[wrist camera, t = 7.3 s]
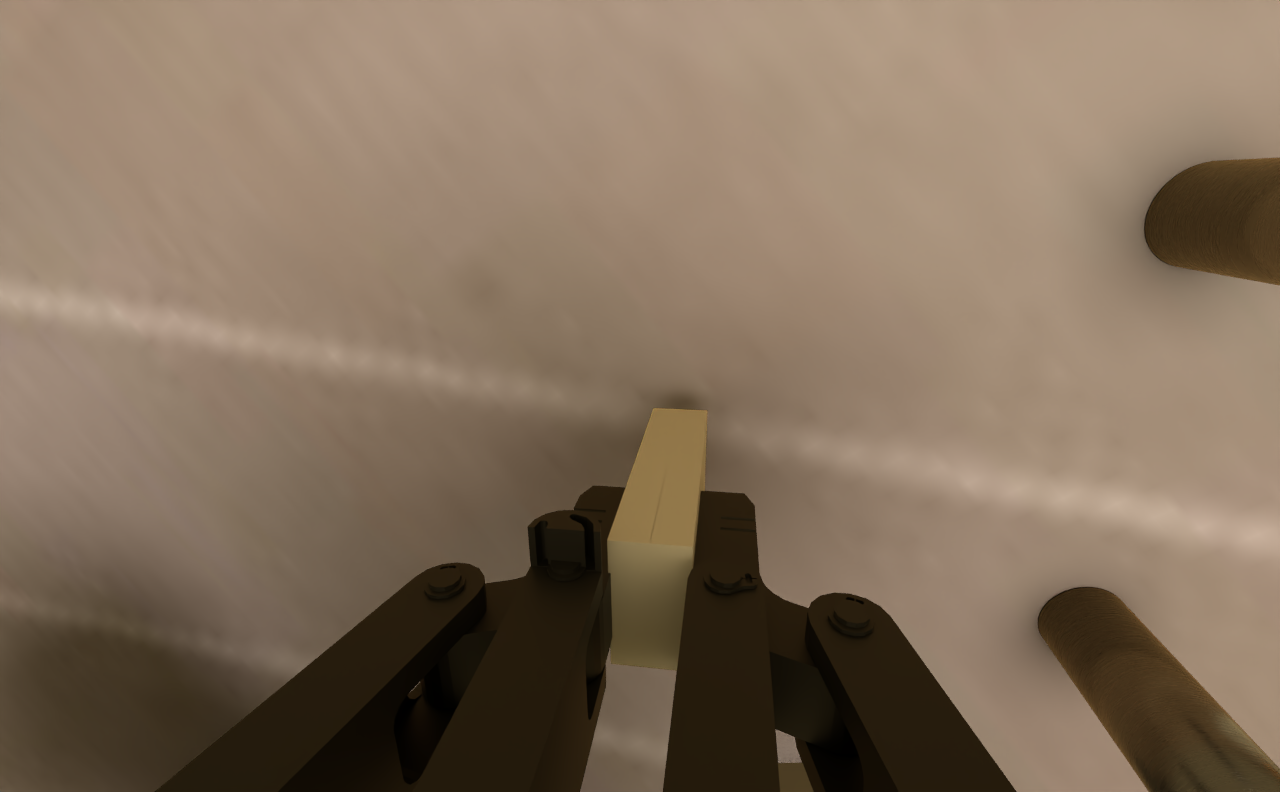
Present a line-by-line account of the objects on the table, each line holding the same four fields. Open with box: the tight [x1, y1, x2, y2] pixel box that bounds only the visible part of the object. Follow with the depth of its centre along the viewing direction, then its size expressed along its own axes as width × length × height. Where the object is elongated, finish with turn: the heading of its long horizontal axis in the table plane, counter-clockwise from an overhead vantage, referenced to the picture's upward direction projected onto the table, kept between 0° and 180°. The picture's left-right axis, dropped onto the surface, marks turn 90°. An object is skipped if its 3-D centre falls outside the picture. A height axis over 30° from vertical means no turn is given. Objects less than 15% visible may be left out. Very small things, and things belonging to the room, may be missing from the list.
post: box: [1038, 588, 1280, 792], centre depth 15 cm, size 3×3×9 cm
